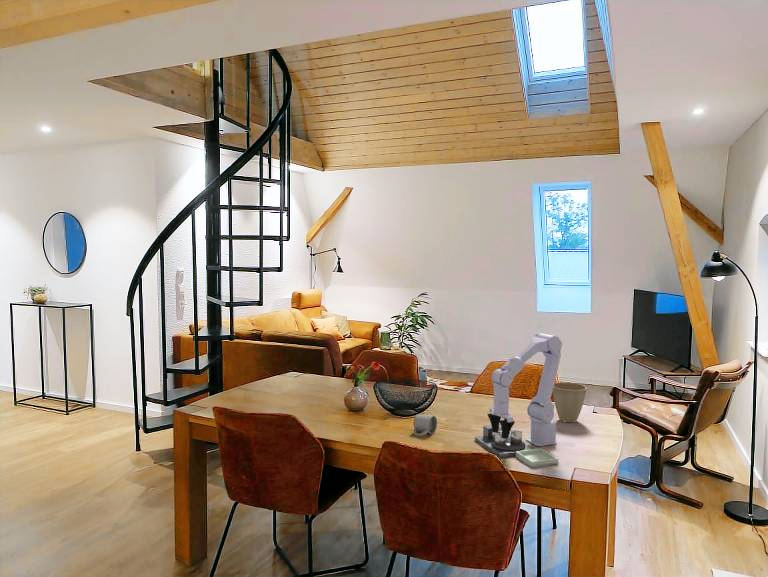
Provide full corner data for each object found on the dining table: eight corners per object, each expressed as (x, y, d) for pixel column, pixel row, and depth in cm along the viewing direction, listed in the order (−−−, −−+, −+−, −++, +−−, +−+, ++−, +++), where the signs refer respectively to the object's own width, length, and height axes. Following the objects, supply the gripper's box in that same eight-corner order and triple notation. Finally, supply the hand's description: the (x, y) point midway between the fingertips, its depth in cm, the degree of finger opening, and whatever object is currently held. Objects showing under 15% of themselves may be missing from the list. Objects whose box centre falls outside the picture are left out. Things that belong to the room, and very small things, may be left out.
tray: (540, 453, 219) (540, 448, 219) (558, 463, 209) (558, 458, 208) (515, 456, 216) (515, 451, 215) (532, 467, 205) (532, 462, 205)
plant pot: (587, 426, 251) (588, 391, 250) (552, 424, 254) (553, 389, 253) (582, 416, 266) (584, 382, 265) (549, 414, 269) (550, 381, 267)
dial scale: (509, 436, 238) (509, 422, 237) (536, 453, 219) (537, 438, 219) (474, 440, 233) (475, 426, 232) (499, 458, 214) (500, 442, 213)
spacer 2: (517, 439, 227) (518, 428, 227) (524, 443, 223) (524, 432, 223) (508, 441, 226) (508, 429, 226) (514, 444, 222) (514, 433, 221)
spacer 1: (502, 441, 225) (502, 430, 225) (508, 445, 221) (508, 433, 221) (492, 442, 224) (492, 431, 223) (498, 446, 219) (498, 435, 219)
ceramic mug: (420, 428, 248) (420, 410, 248) (437, 431, 244) (437, 413, 244) (408, 435, 239) (408, 417, 239) (426, 438, 235) (426, 420, 234)
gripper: (483, 396, 226) (482, 430, 228) (501, 406, 213) (500, 442, 214) (498, 395, 229) (497, 428, 230) (518, 405, 215) (517, 440, 216)
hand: (500, 434), depth 222 cm, fingers open, 7 cm apart
